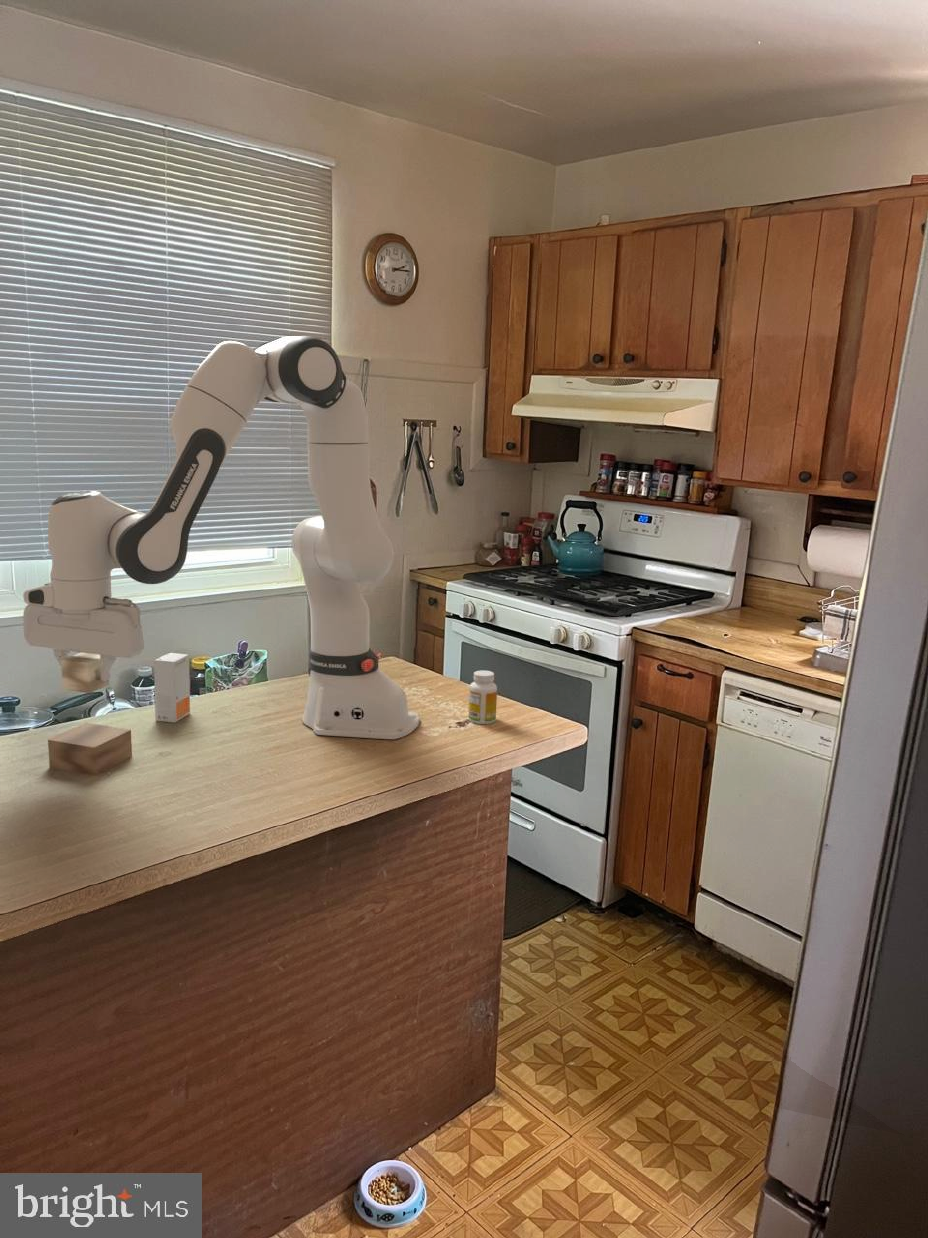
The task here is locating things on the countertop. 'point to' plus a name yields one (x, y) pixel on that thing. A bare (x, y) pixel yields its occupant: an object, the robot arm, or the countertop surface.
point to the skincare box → (172, 687)
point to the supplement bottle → (483, 698)
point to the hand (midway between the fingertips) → (86, 677)
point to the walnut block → (90, 748)
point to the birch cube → (81, 673)
